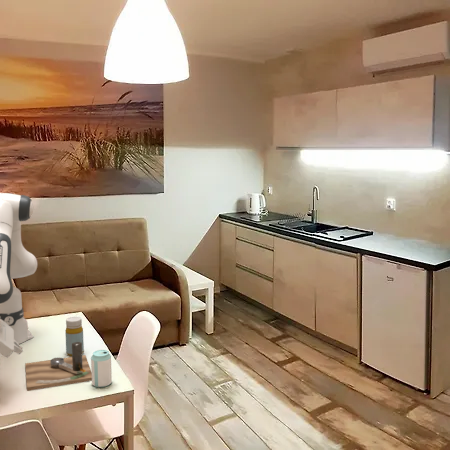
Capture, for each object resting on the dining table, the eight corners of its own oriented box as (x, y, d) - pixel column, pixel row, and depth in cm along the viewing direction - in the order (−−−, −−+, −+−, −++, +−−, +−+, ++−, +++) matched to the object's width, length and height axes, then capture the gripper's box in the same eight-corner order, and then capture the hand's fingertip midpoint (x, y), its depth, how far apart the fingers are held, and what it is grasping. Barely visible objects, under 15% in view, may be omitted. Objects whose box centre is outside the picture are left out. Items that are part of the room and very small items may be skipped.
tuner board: (25, 366, 204) (25, 362, 204) (85, 357, 212) (85, 354, 212) (27, 390, 184) (26, 387, 183) (93, 380, 192) (93, 376, 192)
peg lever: (47, 365, 201) (46, 337, 199) (58, 361, 205) (57, 333, 203) (79, 378, 190) (78, 348, 189) (90, 373, 194) (89, 344, 193)
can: (99, 378, 194) (98, 347, 192) (115, 381, 192) (114, 350, 190) (88, 386, 188) (86, 354, 186) (104, 389, 185) (103, 357, 183)
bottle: (78, 357, 212) (77, 322, 210) (63, 356, 214) (61, 321, 212) (86, 351, 219) (85, 316, 217) (71, 349, 221) (70, 315, 218)
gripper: (-5, 332, 171) (28, 356, 176) (-3, 312, 189) (26, 334, 195) (-19, 347, 170) (15, 370, 175) (-16, 325, 188) (14, 347, 194)
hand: (21, 351), depth 185 cm, fingers closed
